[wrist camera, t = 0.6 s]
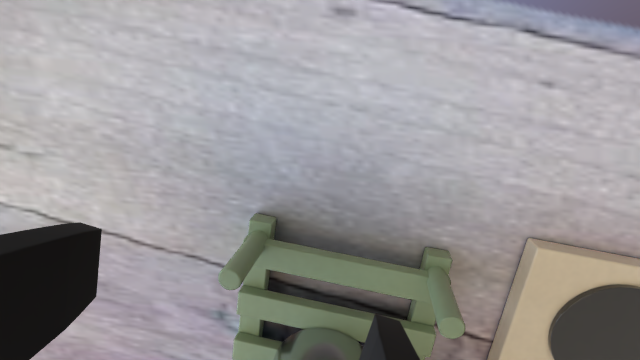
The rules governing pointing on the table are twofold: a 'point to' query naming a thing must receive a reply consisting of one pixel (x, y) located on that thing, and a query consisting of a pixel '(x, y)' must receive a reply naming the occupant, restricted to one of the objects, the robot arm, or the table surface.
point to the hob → (570, 306)
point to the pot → (319, 346)
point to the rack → (268, 254)
